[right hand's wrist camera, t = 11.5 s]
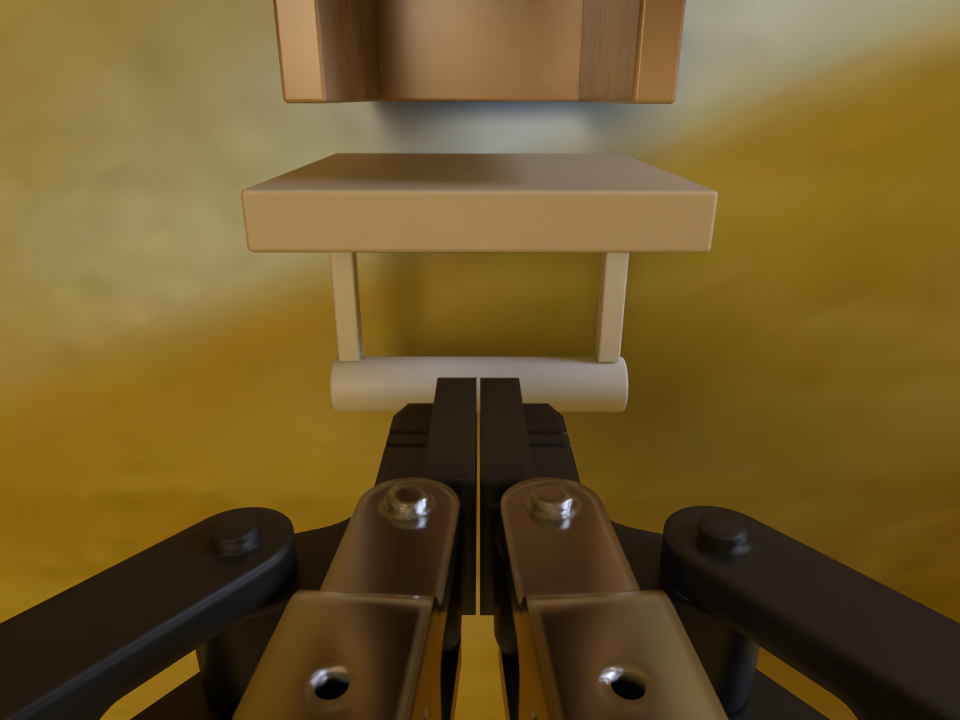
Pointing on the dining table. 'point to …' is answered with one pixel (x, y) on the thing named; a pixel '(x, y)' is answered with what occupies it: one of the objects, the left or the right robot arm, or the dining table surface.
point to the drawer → (479, 170)
